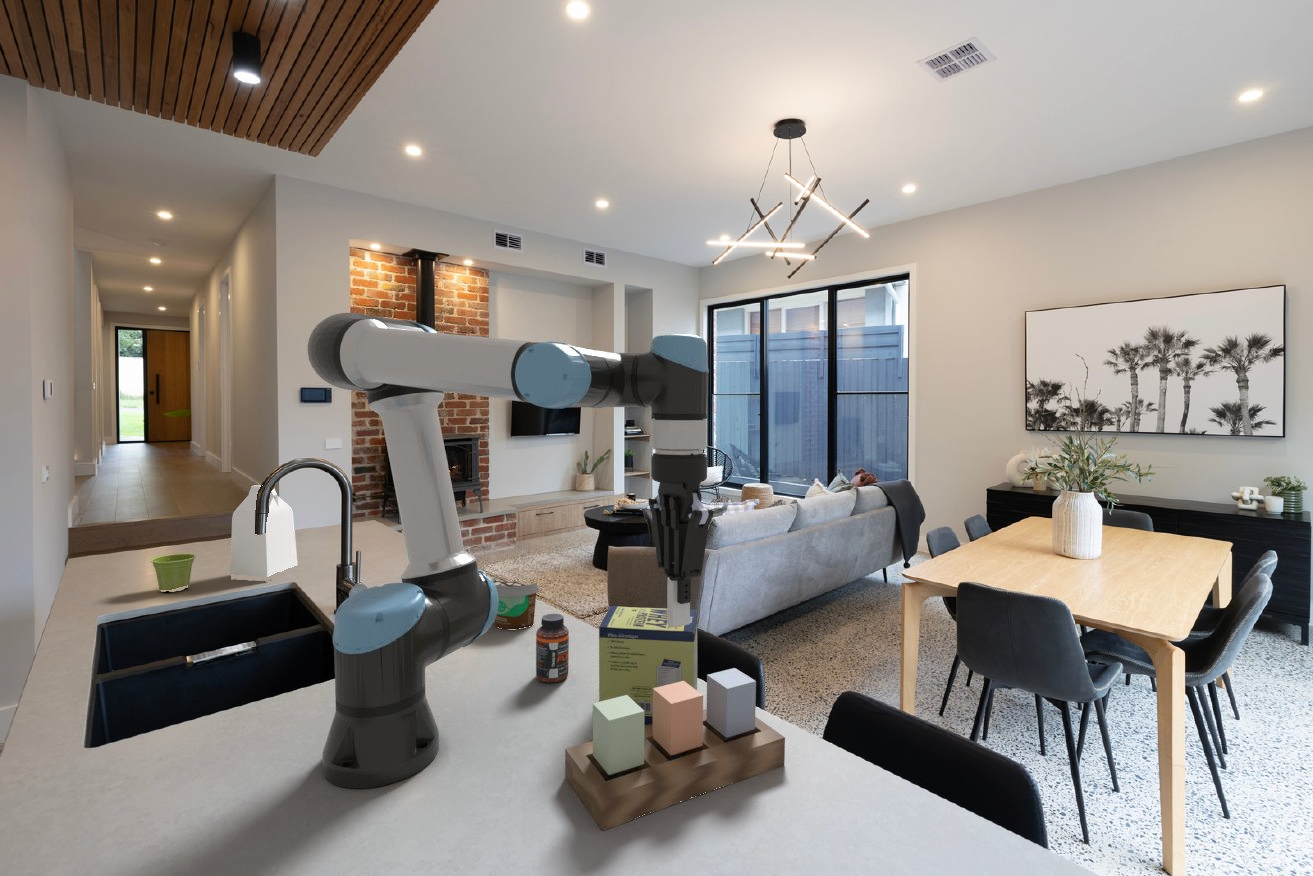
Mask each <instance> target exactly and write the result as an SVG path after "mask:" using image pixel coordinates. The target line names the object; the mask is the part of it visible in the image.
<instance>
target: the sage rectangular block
mask: <svg viewBox="0 0 1313 876" xmlns="http://www.w3.org/2000/svg"><path fill="white" fill-rule="evenodd" d="M644 713H645V711H644V710H643V709H642V708H641V707H640V706H638V705H637V704H636V703H635V702H634V701H633V700H632V699H631V698H630V697H629V696H628V695H624V696H620V697H617V698H613V699H609V700H605V701H601V702H599V701H597V702H593V703H592V741H593V756H594V757H595V759H596V760H597V761H598V762H599V764H600V765H601V766H602V767H603V769H604V770H605V771H606V772H607V774H608V775H611V774H614V773H617V772H620V771H624V770H627V769H630V768H633V767H636V766H639V765H643V764H644V726H645V725H644Z"/></svg>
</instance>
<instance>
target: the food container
mask: <svg viewBox="0 0 1313 876" xmlns="http://www.w3.org/2000/svg"><path fill="white" fill-rule="evenodd" d="M491 579H492V580H493V582H494V584H495V586H496V589H497V593H498V611H497V615H496V618H495V620H494V622H493V624H494V626H495V625H496V627H495V628H497V627H499V628H502V629H519V628H524V627H529V626H531V627H533V626H534V625H533V624H534V622H535V614H536V613H535V610H536V603H537V602H536V600H537V593H539V592H540V589H539V585H538V583H537V582H534V583H531V584H523V583H522V582H521V583H520V582H517V581H498V580H497V577H496V576H494V577H493V578H491ZM532 625H533V626H532ZM499 628H498V629H499ZM529 628H530V627H529ZM502 629H501V630H502Z"/></svg>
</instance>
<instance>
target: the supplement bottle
mask: <svg viewBox="0 0 1313 876" xmlns="http://www.w3.org/2000/svg"><path fill="white" fill-rule="evenodd" d="M564 623H565V622H564V616H563V614H560V613H547V614H544V615H542V616H541V621H540V624H541V626H540V627H538V628H537V630H536V634H535V637H536V639H535V640H536V641H535V645H536V646H535V655H536V656H535V673H536V674H535V677H536V679H537V680H538V681H540V682H542V683H547V684H548V683H549V684H552V683H558V682H562V681H563V680H565V679H567V678H568V676H569V663H570V662H569V660H570V659H569V652H570V651H569V647H570V646H569V645H570V643H569V641H570V640H569V639H570V633H569V629H568V627H567V626H565V624H564Z"/></svg>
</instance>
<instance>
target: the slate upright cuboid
mask: <svg viewBox="0 0 1313 876" xmlns="http://www.w3.org/2000/svg"><path fill="white" fill-rule="evenodd" d="M756 693H757V681H756V679H753V678H752V677H750V676H749V675H747V674H745V673H744V672H742V670H741V671H740V670H739V669H737V668H735V667H733V668H729V669H725V670H721V671H717V672H713V673H710V674H709V673H708V674H706V709H707V716H706V722H707V723H709V724H710V725H711V726H712V727H714V728H715V729H716V730H717V731H719V732H720V733H721V734H722V735H724V736H725V737H726V738H728V737H731V736H734V735H737V734H741V733H744V732H747V731H750V730H753V729H755V717H756V701H757V700H756V699H757V697H756V696H757V694H756Z"/></svg>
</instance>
